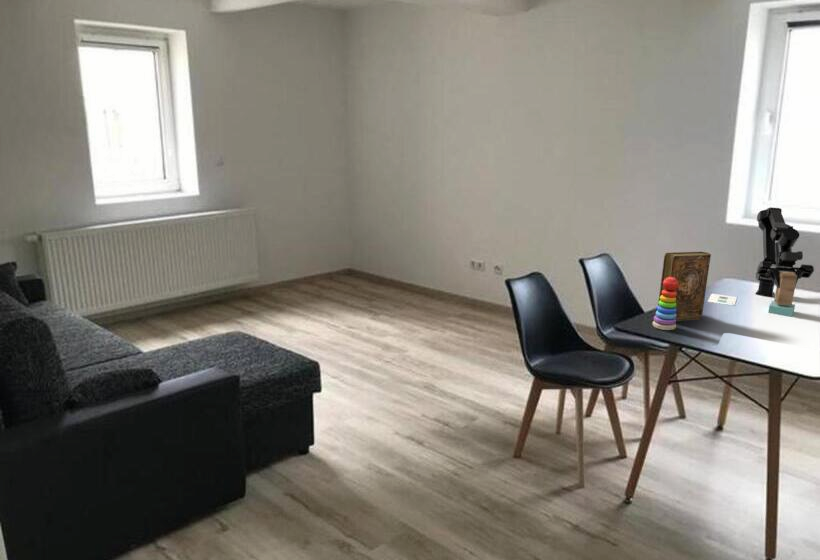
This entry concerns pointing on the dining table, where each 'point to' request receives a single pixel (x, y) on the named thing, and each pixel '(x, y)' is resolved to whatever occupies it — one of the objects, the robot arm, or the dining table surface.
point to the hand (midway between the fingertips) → (786, 288)
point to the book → (687, 282)
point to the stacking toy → (667, 306)
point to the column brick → (785, 288)
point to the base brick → (781, 309)
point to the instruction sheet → (722, 299)
